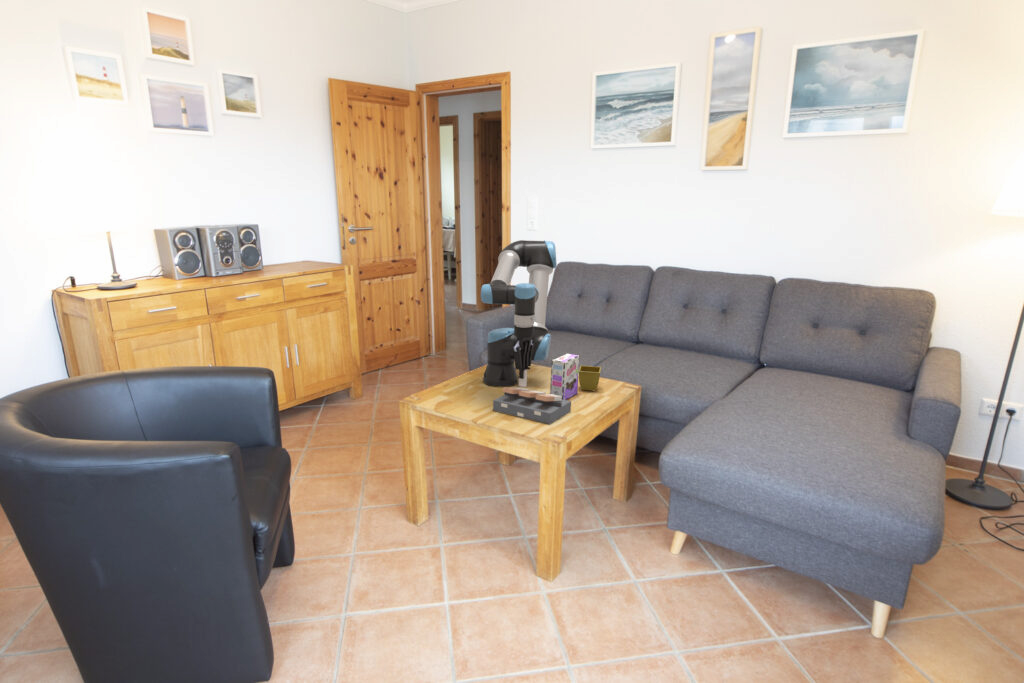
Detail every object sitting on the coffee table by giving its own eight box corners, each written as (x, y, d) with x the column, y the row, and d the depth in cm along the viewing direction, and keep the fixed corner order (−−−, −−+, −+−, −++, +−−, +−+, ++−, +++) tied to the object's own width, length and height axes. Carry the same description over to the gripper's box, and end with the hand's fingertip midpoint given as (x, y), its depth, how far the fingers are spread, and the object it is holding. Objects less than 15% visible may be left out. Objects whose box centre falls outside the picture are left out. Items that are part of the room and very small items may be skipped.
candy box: (562, 402, 217) (564, 362, 213) (549, 400, 220) (550, 359, 216) (578, 393, 228) (580, 354, 225) (565, 391, 231) (566, 352, 228)
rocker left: (502, 391, 205) (503, 387, 205) (519, 391, 216) (519, 387, 215) (512, 393, 203) (513, 389, 203) (528, 393, 213) (529, 389, 213)
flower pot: (598, 393, 229) (600, 372, 227) (577, 391, 231) (578, 370, 229) (599, 387, 238) (601, 366, 236) (579, 385, 240) (580, 365, 238)
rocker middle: (518, 395, 202) (519, 390, 202) (534, 394, 212) (535, 390, 212) (529, 397, 199) (529, 393, 199) (544, 397, 210) (545, 392, 210)
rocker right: (535, 399, 198) (536, 394, 198) (550, 398, 208) (551, 394, 208) (546, 401, 196) (547, 396, 196) (561, 400, 206) (562, 396, 206)
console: (492, 410, 207) (492, 396, 205) (515, 399, 220) (516, 385, 219) (549, 424, 194) (550, 409, 193) (570, 411, 207) (571, 397, 206)
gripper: (523, 329, 200) (522, 392, 206) (541, 323, 211) (539, 383, 217) (506, 327, 204) (505, 388, 210) (524, 321, 215) (523, 380, 220)
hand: (522, 385), depth 213 cm, fingers closed
